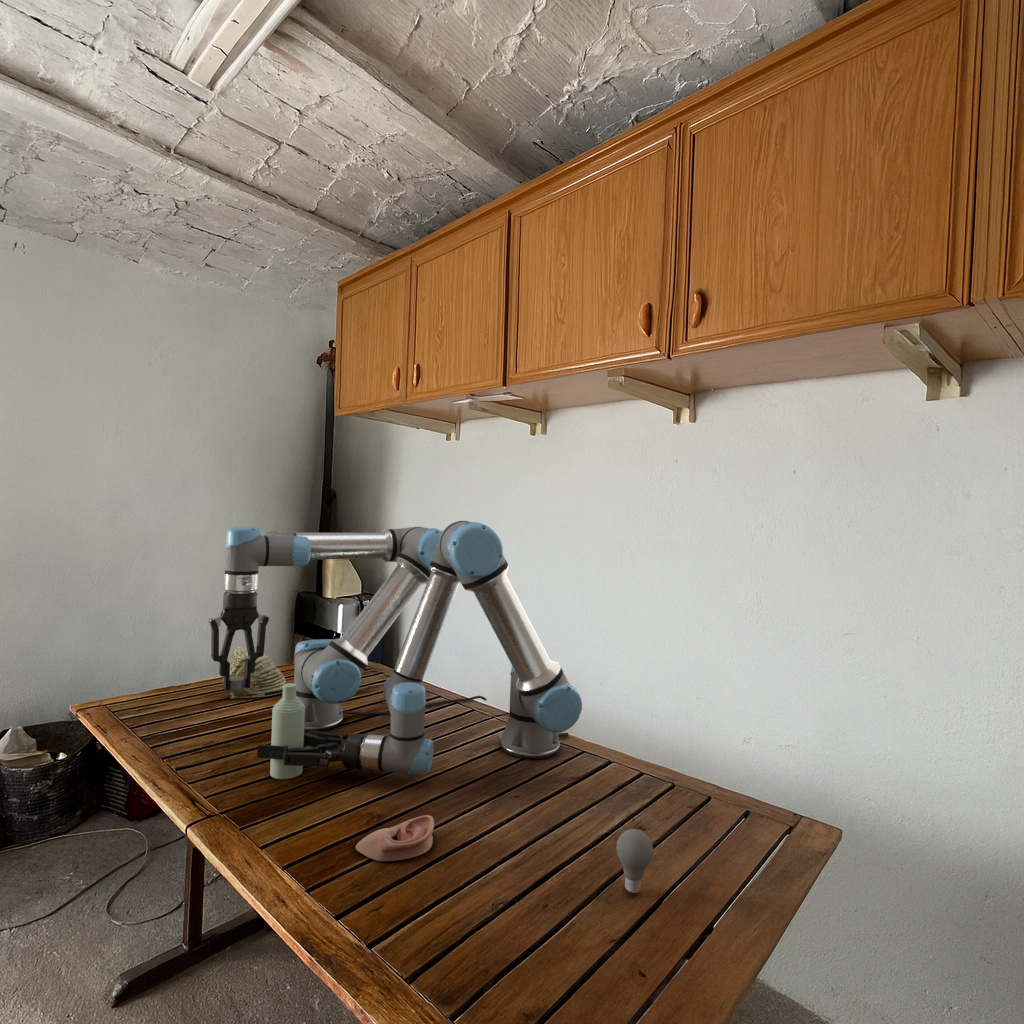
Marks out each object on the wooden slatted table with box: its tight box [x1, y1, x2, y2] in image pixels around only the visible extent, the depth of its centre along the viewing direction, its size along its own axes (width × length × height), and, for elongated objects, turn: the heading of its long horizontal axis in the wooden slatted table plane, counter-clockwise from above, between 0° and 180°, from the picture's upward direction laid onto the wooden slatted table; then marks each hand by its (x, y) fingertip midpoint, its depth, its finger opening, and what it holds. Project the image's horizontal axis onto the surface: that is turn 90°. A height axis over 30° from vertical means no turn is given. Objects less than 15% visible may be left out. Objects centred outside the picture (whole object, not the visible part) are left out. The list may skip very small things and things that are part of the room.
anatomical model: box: [355, 814, 435, 862], centre depth 116 cm, size 13×4×12 cm
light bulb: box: [615, 828, 654, 894], centre depth 106 cm, size 6×6×10 cm
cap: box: [229, 676, 246, 690], centre depth 153 cm, size 4×4×2 cm
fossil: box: [227, 646, 287, 699], centre depth 198 cm, size 9×18×15 cm, turn 132°
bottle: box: [269, 682, 305, 780], centre depth 144 cm, size 7×7×20 cm
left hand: (236, 687), depth 153 cm, fingers closed on cap, 4 cm apart
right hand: (266, 744), depth 145 cm, fingers closed on bottle, 7 cm apart
